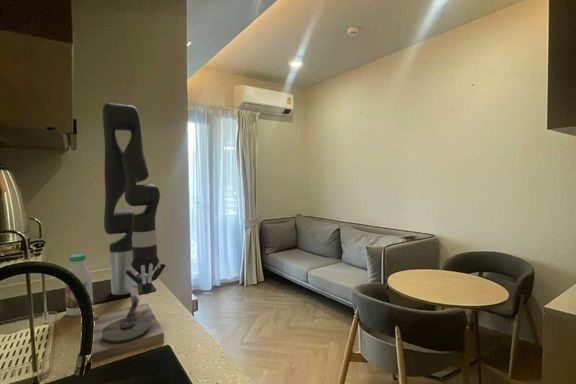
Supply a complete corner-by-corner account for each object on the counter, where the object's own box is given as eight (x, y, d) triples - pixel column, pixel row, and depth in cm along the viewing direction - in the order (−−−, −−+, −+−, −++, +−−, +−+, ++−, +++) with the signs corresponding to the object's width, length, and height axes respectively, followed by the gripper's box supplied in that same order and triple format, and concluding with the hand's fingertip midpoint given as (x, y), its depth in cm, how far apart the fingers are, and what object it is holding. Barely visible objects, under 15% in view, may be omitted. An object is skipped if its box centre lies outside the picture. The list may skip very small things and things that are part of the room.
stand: (86, 325, 94) (85, 314, 94) (147, 310, 105) (147, 300, 105) (87, 364, 74) (87, 351, 74) (164, 341, 85) (163, 329, 85)
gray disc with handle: (147, 338, 81) (146, 310, 81) (96, 347, 77) (95, 317, 77) (155, 305, 102) (154, 283, 102) (116, 310, 98) (115, 287, 98)
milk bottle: (77, 306, 108) (74, 252, 107) (98, 306, 108) (95, 252, 107) (60, 316, 100) (57, 258, 99) (83, 316, 100) (80, 258, 99)
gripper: (162, 238, 108) (163, 285, 109) (120, 244, 100) (122, 295, 101) (168, 242, 102) (169, 292, 103) (124, 248, 94) (127, 302, 95)
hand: (146, 293), depth 102 cm, fingers closed
